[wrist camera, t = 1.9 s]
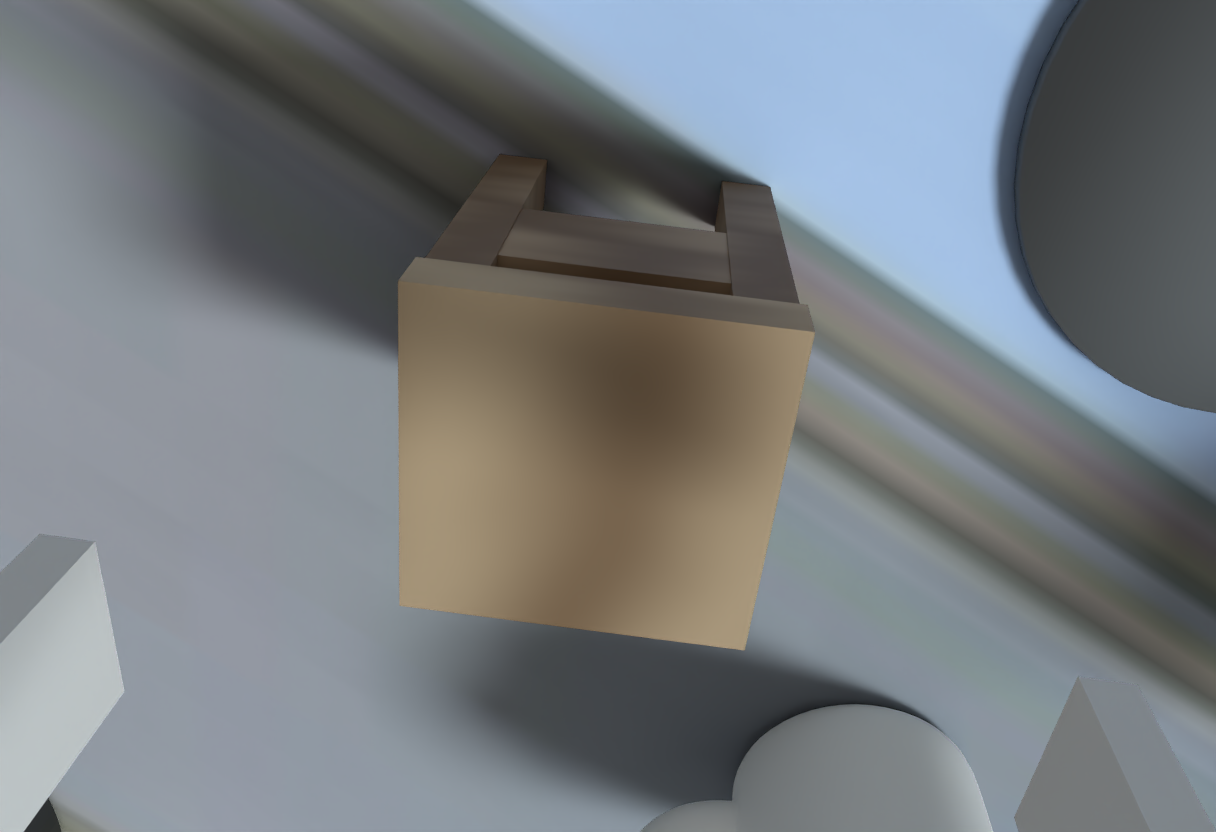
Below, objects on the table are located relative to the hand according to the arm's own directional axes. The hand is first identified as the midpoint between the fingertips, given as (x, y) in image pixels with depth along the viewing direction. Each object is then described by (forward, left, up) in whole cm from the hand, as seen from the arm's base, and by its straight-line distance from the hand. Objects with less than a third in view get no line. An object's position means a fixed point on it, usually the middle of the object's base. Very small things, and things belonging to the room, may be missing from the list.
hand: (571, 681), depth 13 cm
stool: (0, 0, -14) cm, 14 cm away
